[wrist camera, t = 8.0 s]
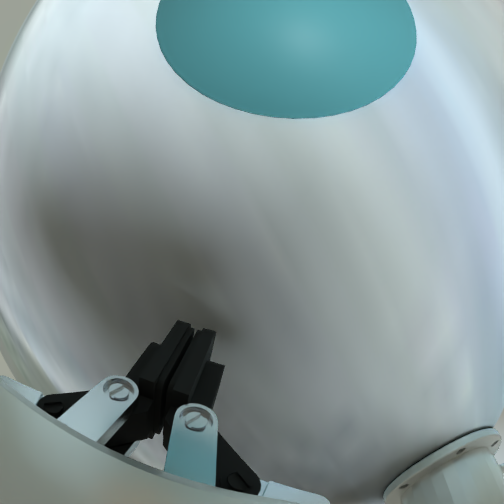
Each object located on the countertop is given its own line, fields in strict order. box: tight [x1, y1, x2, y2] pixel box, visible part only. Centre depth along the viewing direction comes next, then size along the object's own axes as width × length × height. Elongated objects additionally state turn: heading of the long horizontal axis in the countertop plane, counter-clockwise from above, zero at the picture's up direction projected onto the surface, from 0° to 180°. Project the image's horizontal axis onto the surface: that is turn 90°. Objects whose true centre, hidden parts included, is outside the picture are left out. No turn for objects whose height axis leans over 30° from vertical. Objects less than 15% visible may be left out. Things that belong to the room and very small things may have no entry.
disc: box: [156, 0, 416, 119], centre depth 8 cm, size 12×12×1 cm
